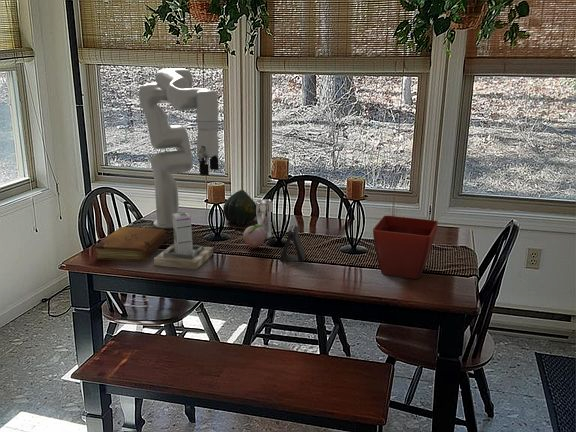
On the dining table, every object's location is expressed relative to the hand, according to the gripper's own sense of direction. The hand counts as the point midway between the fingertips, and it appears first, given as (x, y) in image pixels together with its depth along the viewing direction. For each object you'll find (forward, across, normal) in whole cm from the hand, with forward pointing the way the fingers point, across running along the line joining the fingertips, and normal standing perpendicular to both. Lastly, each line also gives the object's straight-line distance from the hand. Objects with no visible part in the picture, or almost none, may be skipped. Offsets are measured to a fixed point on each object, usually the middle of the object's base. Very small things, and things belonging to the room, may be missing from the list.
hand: (209, 172), depth 213 cm
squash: (+31, -36, -1) cm, 47 cm away
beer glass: (+31, -20, +15) cm, 39 cm away
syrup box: (+28, +12, -6) cm, 31 cm away
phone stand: (+31, +1, +32) cm, 44 cm away
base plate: (+30, +12, -6) cm, 33 cm away
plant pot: (+31, +2, +72) cm, 78 cm away
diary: (+31, +8, -29) cm, 43 cm away
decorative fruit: (+31, -6, +15) cm, 35 cm away
